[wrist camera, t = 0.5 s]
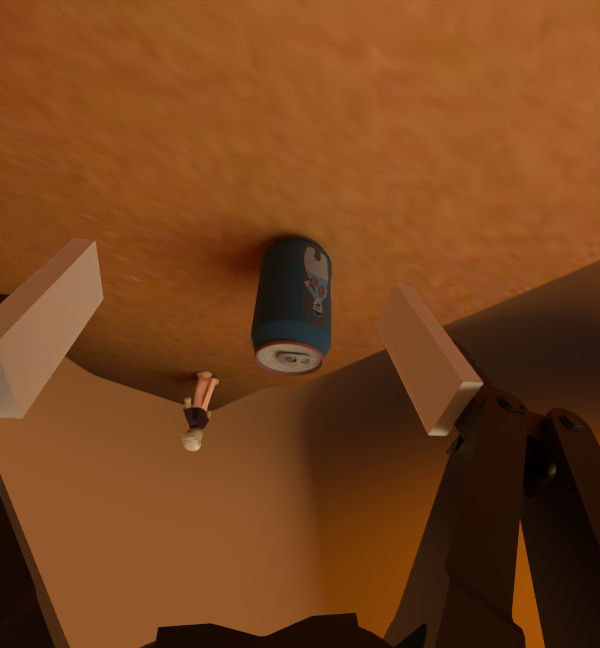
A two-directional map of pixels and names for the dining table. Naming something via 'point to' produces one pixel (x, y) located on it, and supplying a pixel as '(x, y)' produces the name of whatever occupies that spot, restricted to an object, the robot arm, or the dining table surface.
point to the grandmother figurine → (198, 411)
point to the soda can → (293, 308)
